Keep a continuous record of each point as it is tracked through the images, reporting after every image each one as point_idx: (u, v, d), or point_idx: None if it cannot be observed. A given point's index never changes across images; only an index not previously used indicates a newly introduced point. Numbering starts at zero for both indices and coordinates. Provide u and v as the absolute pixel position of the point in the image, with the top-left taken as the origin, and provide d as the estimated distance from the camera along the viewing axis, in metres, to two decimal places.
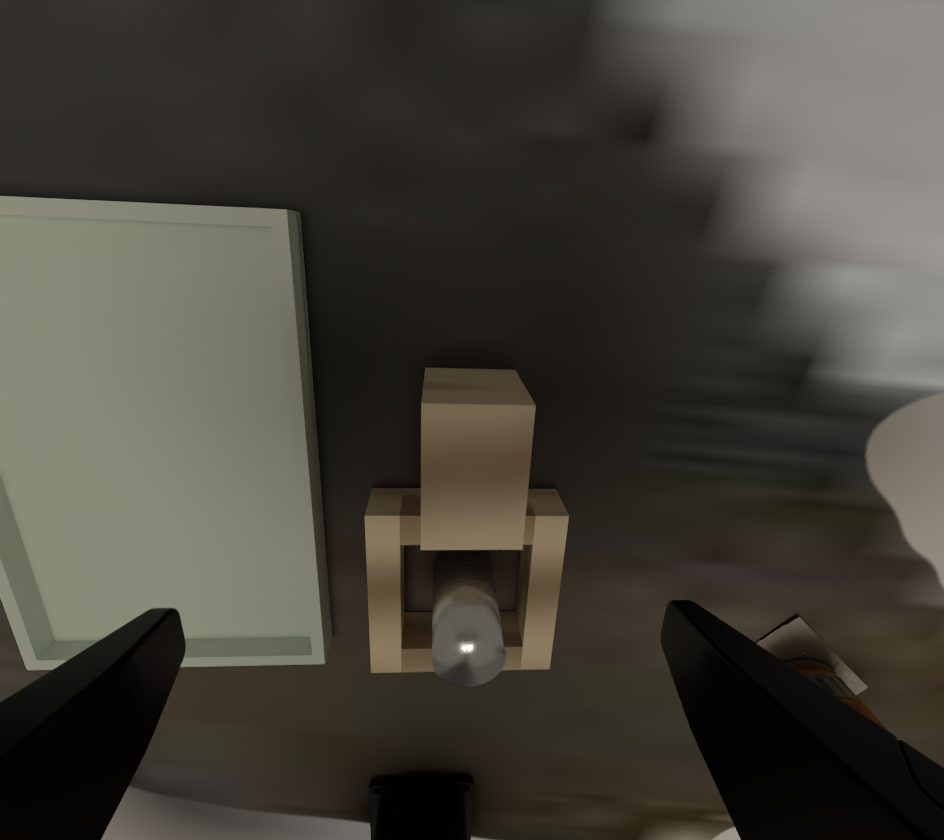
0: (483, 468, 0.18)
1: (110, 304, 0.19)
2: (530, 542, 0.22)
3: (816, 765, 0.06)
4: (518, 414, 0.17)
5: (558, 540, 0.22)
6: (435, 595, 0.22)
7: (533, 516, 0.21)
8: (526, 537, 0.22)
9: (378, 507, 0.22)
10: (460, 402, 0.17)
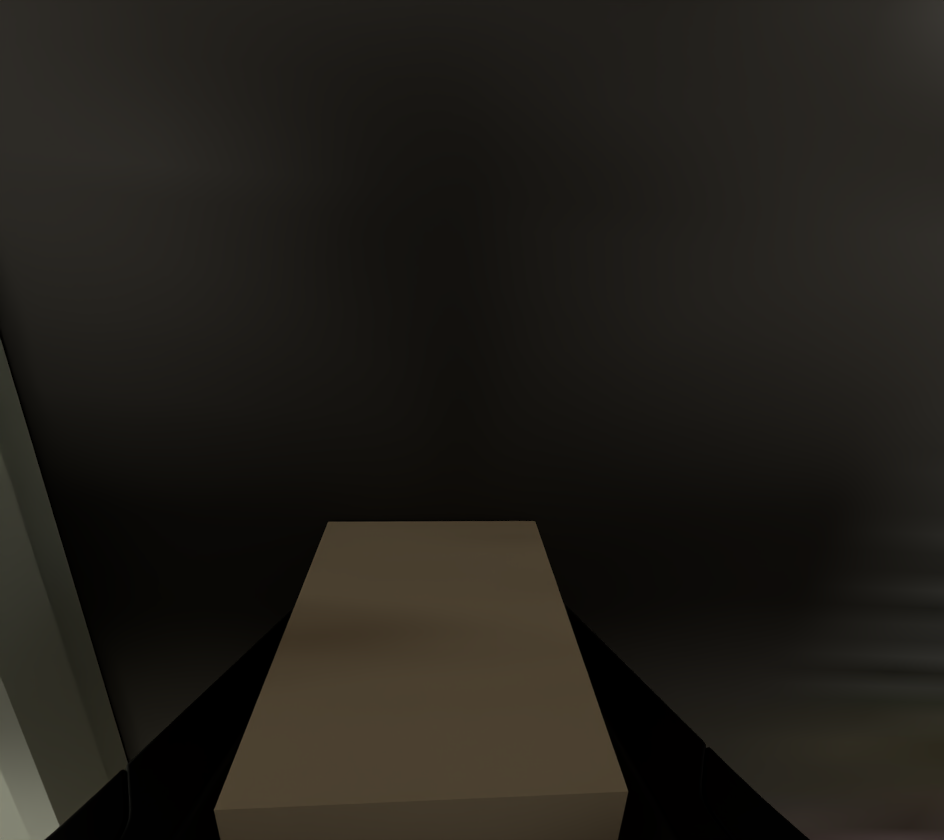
0: None
1: None
2: None
3: None
4: (568, 818, 0.05)
5: None
6: None
7: None
8: None
9: None
10: (362, 781, 0.05)
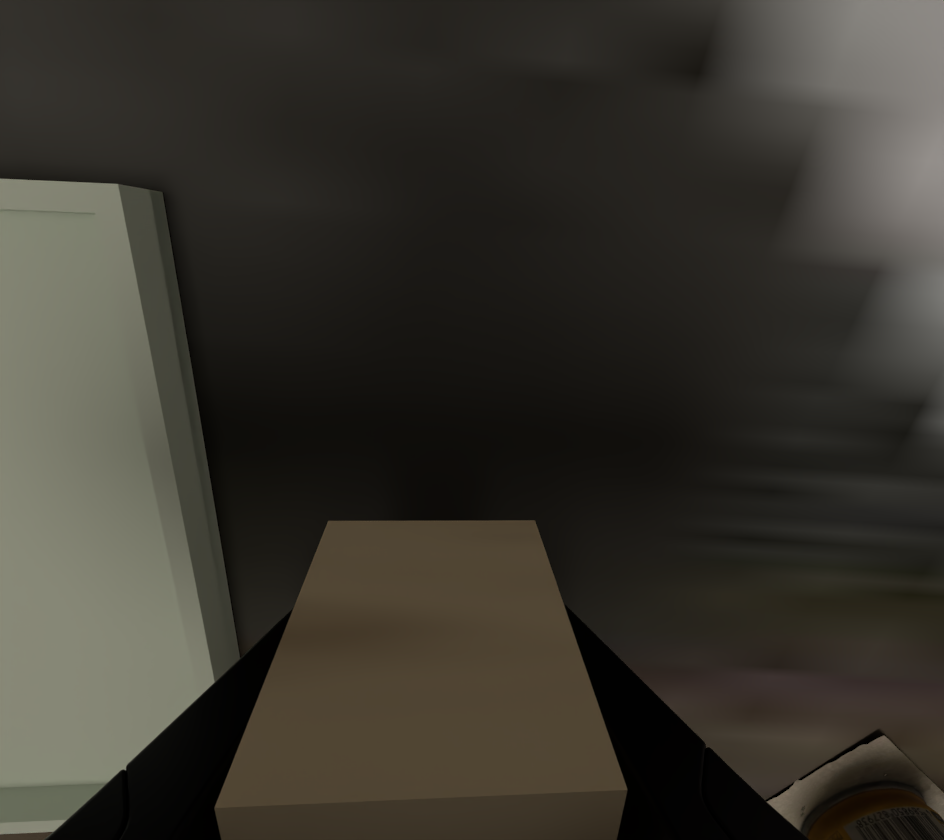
0: None
1: None
2: None
3: None
4: (567, 815, 0.05)
5: None
6: None
7: None
8: None
9: None
10: (363, 779, 0.05)
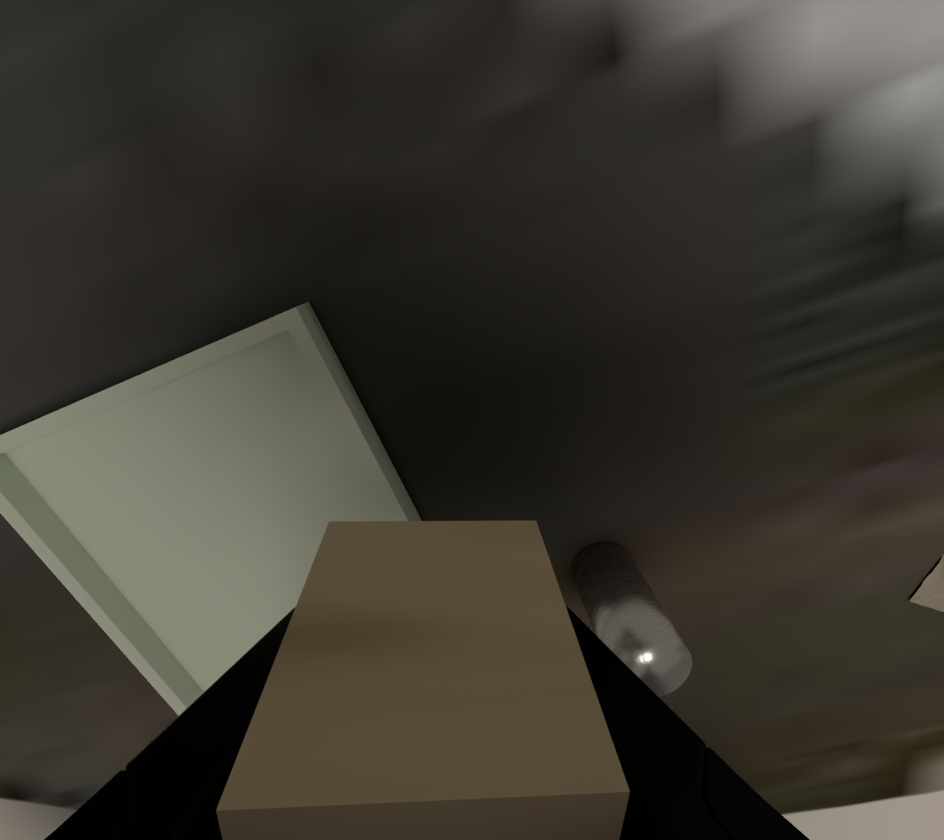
0: None
1: (185, 460, 0.20)
2: None
3: None
4: (570, 817, 0.05)
5: None
6: (589, 611, 0.21)
7: None
8: None
9: None
10: (364, 781, 0.05)
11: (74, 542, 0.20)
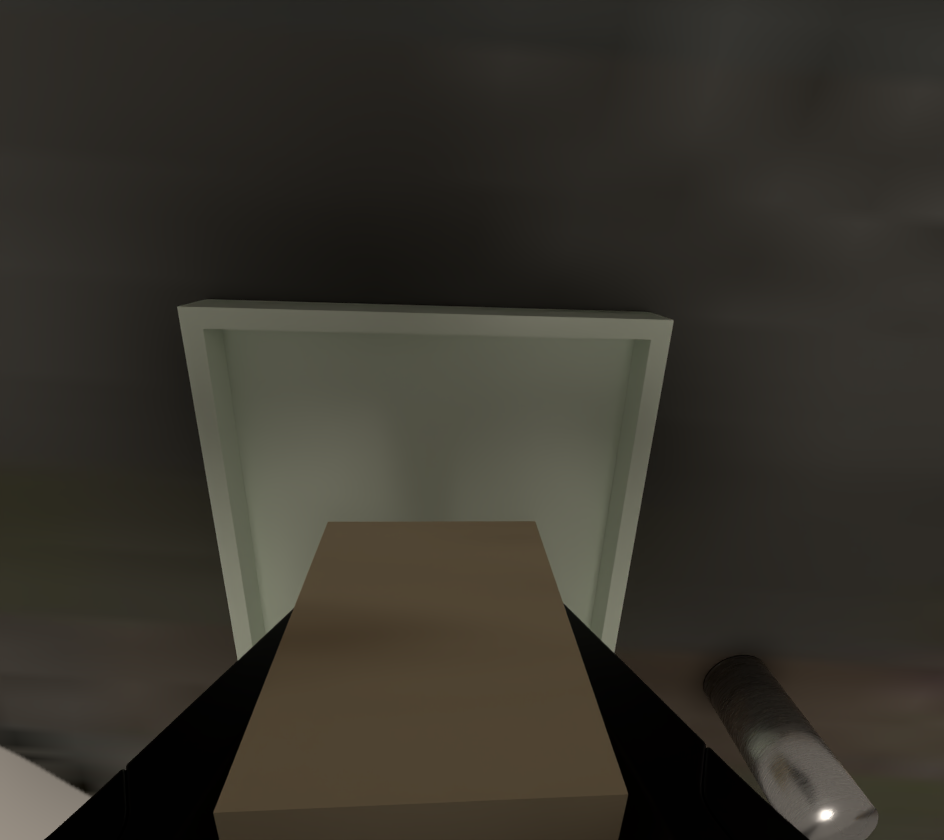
0: None
1: (423, 420, 0.16)
2: None
3: None
4: (568, 820, 0.05)
5: None
6: (748, 733, 0.19)
7: None
8: None
9: None
10: (361, 783, 0.05)
11: (238, 459, 0.16)
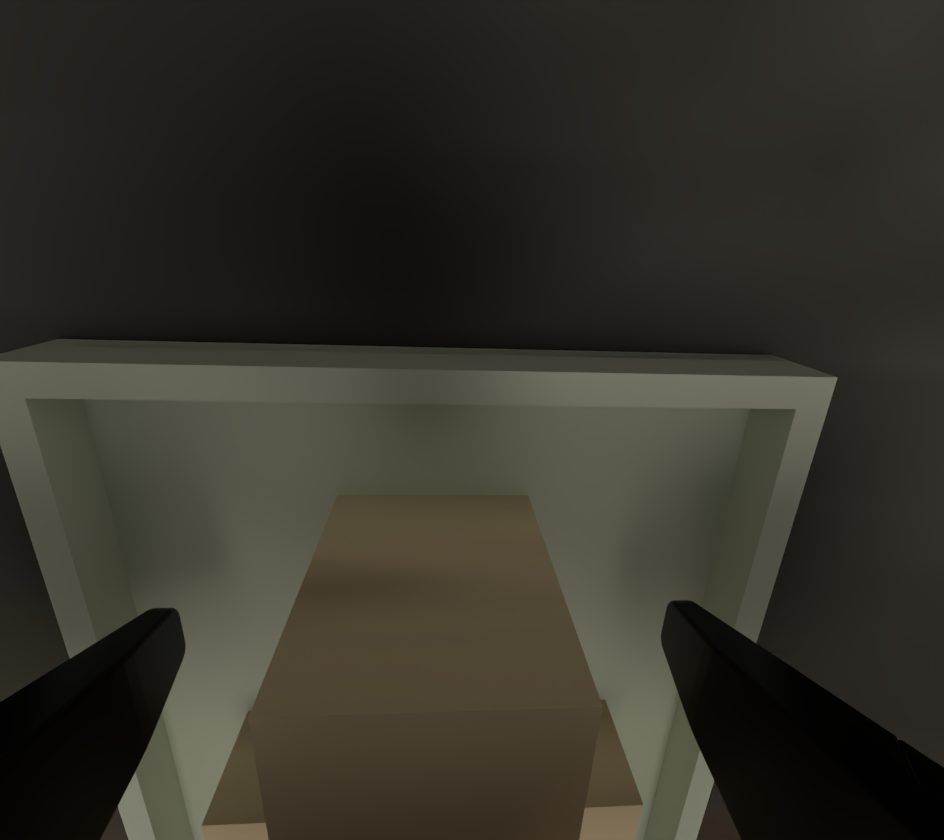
0: None
1: None
2: None
3: (816, 765, 0.06)
4: (551, 731, 0.06)
5: None
6: None
7: None
8: None
9: (241, 787, 0.10)
10: (374, 697, 0.06)
11: (124, 587, 0.10)
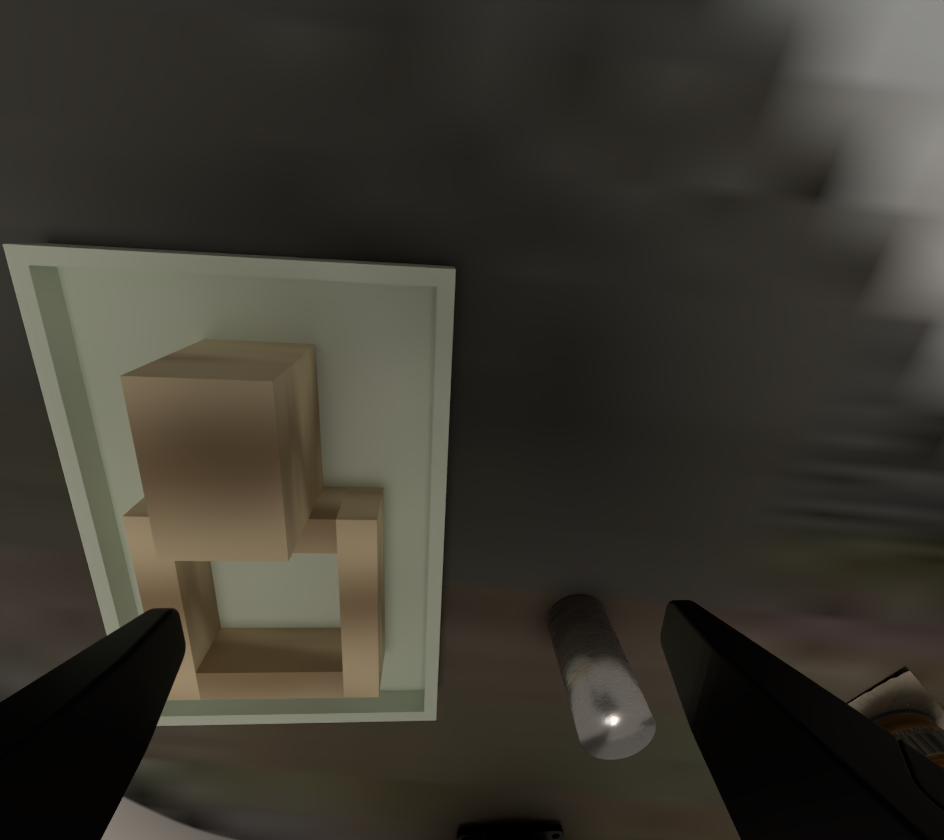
0: (218, 461, 0.14)
1: None
2: (333, 551, 0.18)
3: (816, 765, 0.06)
4: (252, 393, 0.13)
5: (368, 549, 0.18)
6: (565, 657, 0.21)
7: (333, 520, 0.18)
8: (328, 545, 0.18)
9: None
10: (176, 375, 0.13)
11: (82, 391, 0.18)
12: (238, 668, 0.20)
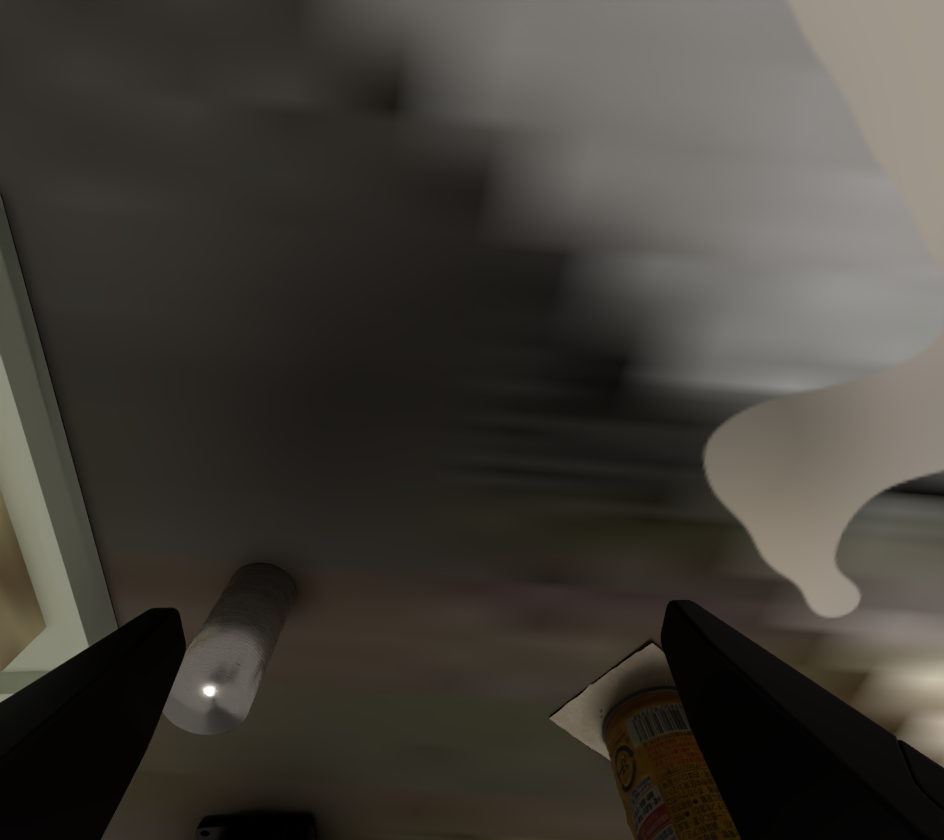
0: None
1: None
2: None
3: (816, 765, 0.06)
4: None
5: None
6: None
7: None
8: None
9: None
10: None
11: None
12: None
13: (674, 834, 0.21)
